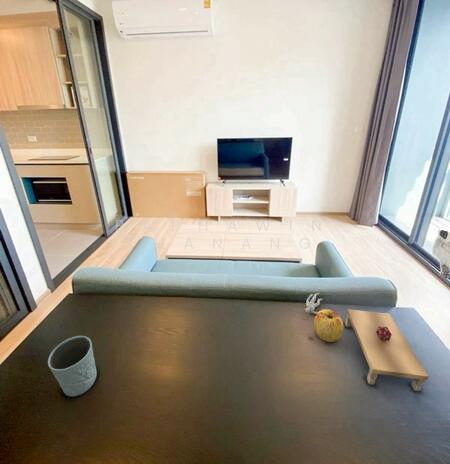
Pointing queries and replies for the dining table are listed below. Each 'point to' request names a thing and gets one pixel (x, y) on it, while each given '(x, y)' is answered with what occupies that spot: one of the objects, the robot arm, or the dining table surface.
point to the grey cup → (73, 365)
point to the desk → (385, 348)
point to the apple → (328, 325)
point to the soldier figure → (312, 304)
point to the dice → (383, 333)
